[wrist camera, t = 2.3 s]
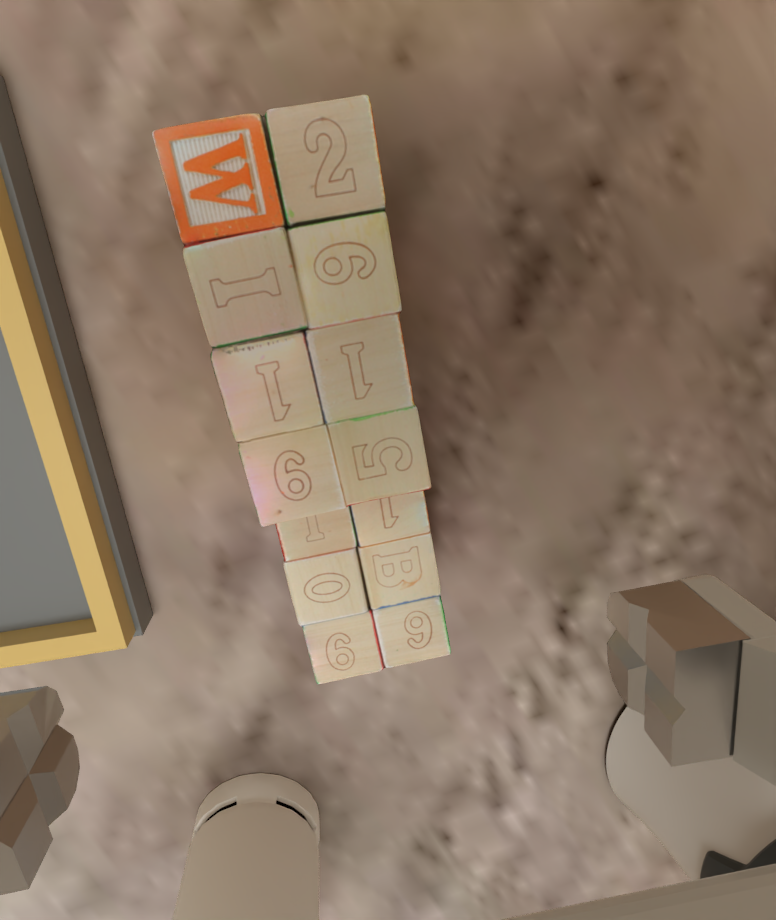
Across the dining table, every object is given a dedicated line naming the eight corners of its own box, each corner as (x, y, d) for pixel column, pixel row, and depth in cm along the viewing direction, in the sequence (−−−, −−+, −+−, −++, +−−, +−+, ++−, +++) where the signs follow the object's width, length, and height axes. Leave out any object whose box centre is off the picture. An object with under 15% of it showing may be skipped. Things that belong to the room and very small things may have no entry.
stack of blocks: (419, 561, 34) (468, 706, 23) (315, 583, 34) (310, 741, 22) (351, 167, 28) (371, 86, 16) (221, 189, 28) (145, 123, 16)
